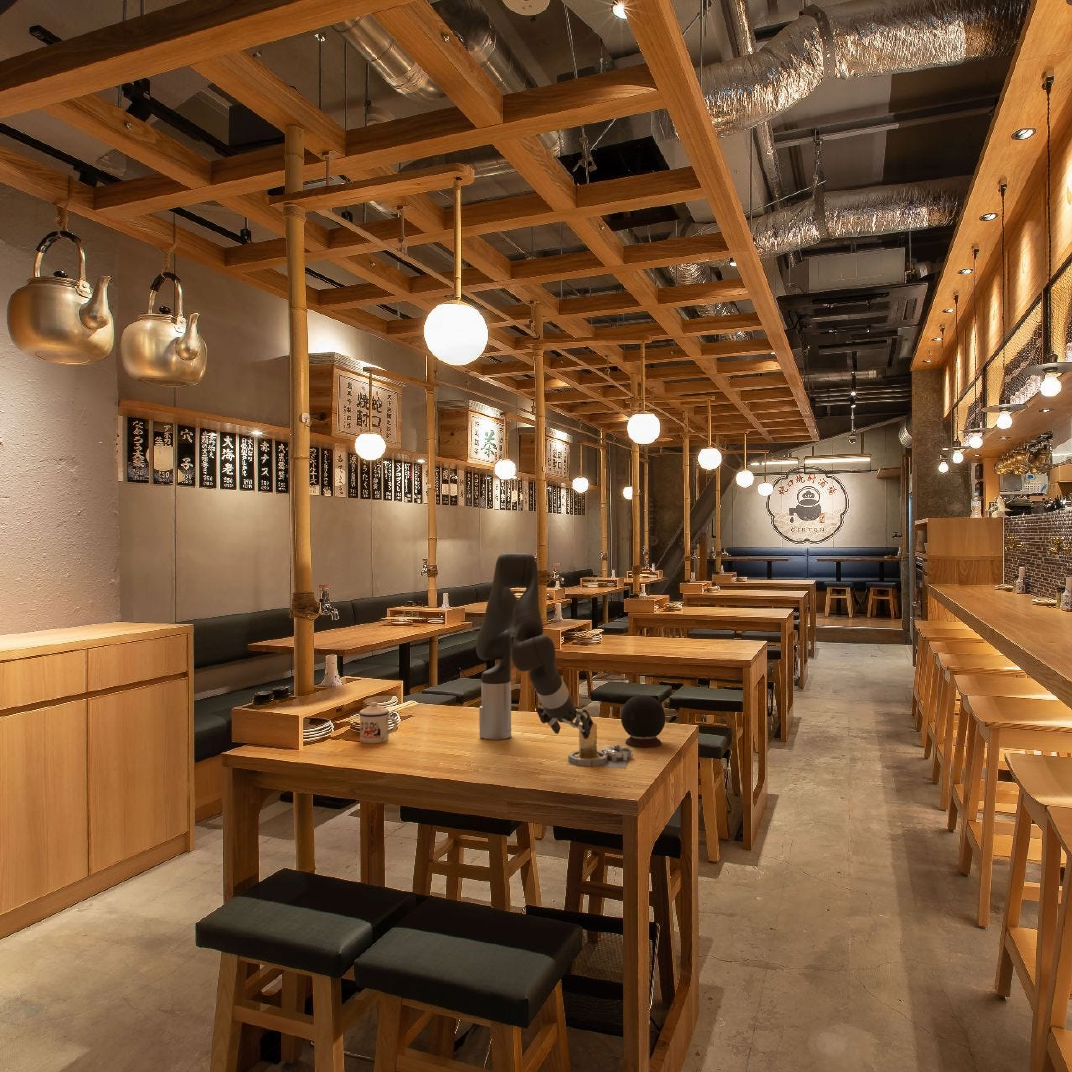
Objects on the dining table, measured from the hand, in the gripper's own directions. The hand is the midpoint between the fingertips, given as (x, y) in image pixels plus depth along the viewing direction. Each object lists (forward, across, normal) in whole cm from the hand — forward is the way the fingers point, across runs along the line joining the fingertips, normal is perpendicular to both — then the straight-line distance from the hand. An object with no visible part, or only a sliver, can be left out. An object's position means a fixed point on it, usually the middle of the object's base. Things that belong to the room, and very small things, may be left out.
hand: (572, 733), depth 202 cm
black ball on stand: (+30, -7, -18) cm, 35 cm away
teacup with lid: (+11, +68, +8) cm, 69 cm away
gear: (+17, -6, -5) cm, 19 cm away
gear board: (+15, -3, -2) cm, 16 cm away
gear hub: (+13, -1, 0) cm, 13 cm away
